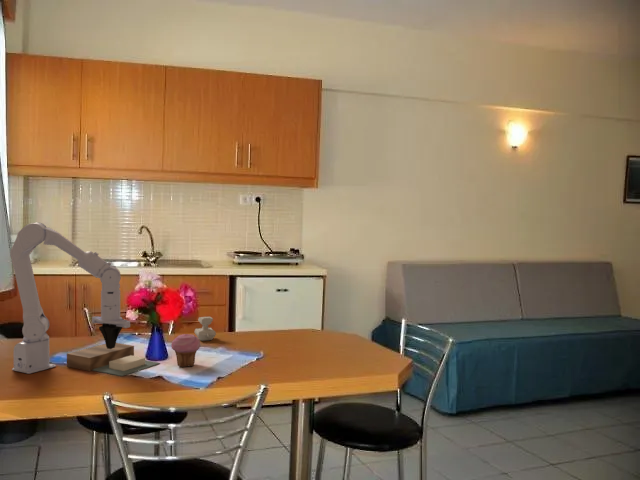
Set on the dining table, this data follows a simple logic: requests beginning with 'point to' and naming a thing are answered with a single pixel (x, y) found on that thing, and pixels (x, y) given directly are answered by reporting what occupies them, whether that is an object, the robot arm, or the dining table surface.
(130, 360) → the beige flat block
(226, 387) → the dining table surface
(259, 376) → the dining table surface
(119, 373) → the mat
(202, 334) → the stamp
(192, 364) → the cupcake
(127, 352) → the panel
